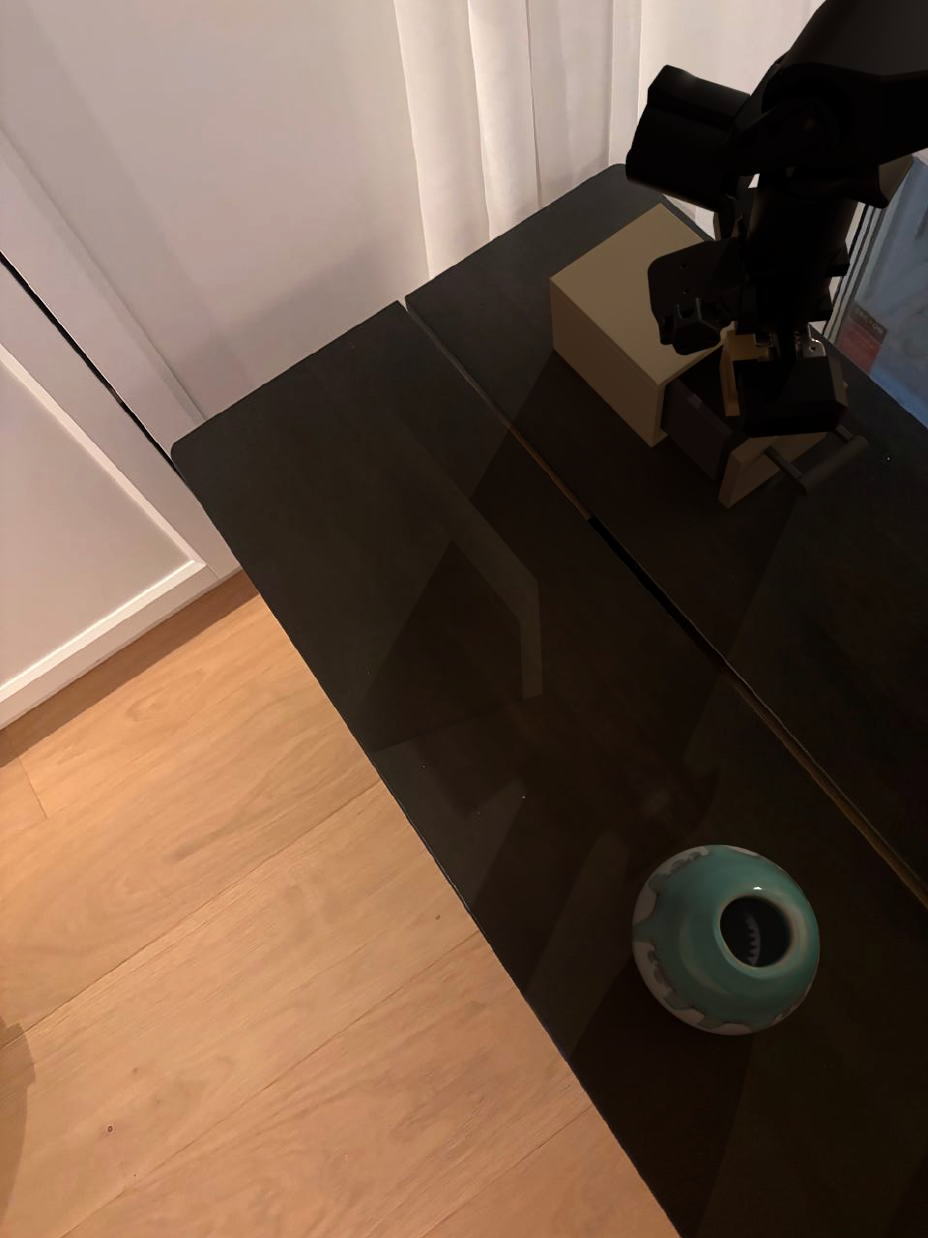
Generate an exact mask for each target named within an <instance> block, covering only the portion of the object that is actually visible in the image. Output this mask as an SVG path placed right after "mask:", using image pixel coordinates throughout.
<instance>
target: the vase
mask: <svg viewBox="0 0 928 1238" xmlns="http://www.w3.org/2000/svg"><path fill="white" fill-rule="evenodd" d="M631 919H632V920H631V929H630V938H631V947H632V949H631V951H632V955H633V959H634V962H635V965H636V968H637V970H638V972H639V974H640V976H641V979H642V980H643V982H644V984H645V986H646V987H647V989H648V990H649V992H650V993H651V994H652V995H653V997H654V998H655V999H656V1001H658V1003H659V1004H660V1005H661V1006H663V1008H664V1009H666V1010H667V1011H668V1012H669V1013H670V1014H672V1016H674V1017H676V1018H677V1019H678V1020H679V1021H682V1022H683V1023H684V1024H687V1025H688V1026H690V1027H693V1028H695V1029H698V1030H700V1031H704V1032H707V1033H710V1034H716V1035H719V1036H720V1035H721V1036H745V1035H749V1034H754V1033H758V1032H761V1031H764V1030H767V1029H769V1028H771V1027H773V1026H776V1025H777V1024H779V1023H781V1022H782V1021H784V1020H785V1019H786V1018H787V1017H789V1016H790V1015H791V1014H792V1013H794V1011H795V1010H797V1008H798V1007H799V1006H800V1005H802V1002H803V1001H804V1000H805V998H806V997H807V996H808V994H809V992H810V990H811V988H812V986H813V983H814V981H815V979H816V976H817V971H818V968H819V962H820V950H821V944H820V943H821V942H820V931H819V930H820V929H819V926H818V921H817V918H816V916H815V913H814V910H813V908H812V905H811V903H810V901H809V899H808V897H807V896H806V894H805V893H804V891H803V889H802V888H801V887H800V886H799V884H798V883H797V882H796V881H795V879H793V878H792V877H791V876H790V874H789V873H788V872H787V871H785V870H784V869H783V868H782V867H780V866H779V865H778V864H776V863H775V862H773V861H772V860H770V859H768V858H766V857H765V856H763V855H761V854H759V853H757V852H755V851H751V850H750V849H746V848H742V847H739V846H732V845H726V844H725V845H724V844H708V845H701V846H695V847H693V848H689V849H686V850H683V851H681V852H679V853H677V854H675V855H673V856H671V857H669V858H668V859H666V860H665V861H664V862H662V863H661V864H660V865H659V866H657V867H656V869H655V870H653V872H652V873H651V874H650V876H648V878H647V879H646V881H645V882H644V884H643V885H642V888H641V889H640V891H639V893H638V895H637V897H636V900H635V903H634V908H633V913H632V918H631Z"/></svg>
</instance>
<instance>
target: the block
mask: <svg viewBox="0 0 928 1238" xmlns="http://www.w3.org/2000/svg"><path fill="white" fill-rule="evenodd" d="M769 336H771V333H770V335H769ZM770 341H772V338H771V339H770ZM768 347H773V344H772V343H771V345H770V346H768ZM766 349H767V347H760V348H759V347H756V346H755V342H754V335H753V334H746V335H735V331H734V330H727V332H726V336H725V341H724V346H723V351H722V355H721V360H720V365H719V372H720V379H721V386H722V394H723V401H724V408H725V416H737V415H740V412H739V405H738V392H737V390H736V384H735V377H734V370H733V363H732V361H735V360H746V359H757V358H758V357H760V356H764V357H765V358H766V356H765V352H766Z"/></svg>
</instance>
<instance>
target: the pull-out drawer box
mask: <svg viewBox="0 0 928 1238" xmlns="http://www.w3.org/2000/svg"><path fill="white" fill-rule="evenodd" d="M723 346H724V344H723V345H721V346H720V347H718V348H717V349H716V350H714V351H713V352H711V353H710V354H709V355H707V356H706V357H704V358H703V359H702V360H700V361H699V362H697V363H696V364H695V365H693V366H692V367H690V368H689V369H687V370H686V371H685V372H683V373H682V374H680V375H679V376H678V377H676V378H675V379H673V380H672V381H671V382H669V383H668V384H666V385H665V392H664V400H663V408H662V416H661V423H660V428H661V429H662V430H663V431H664V432H665V433H666V434H667V435H668V436H667V437H669V438H670V439H671V440H672V441H673V442H674V443H675V444H676V445H677V446H678V447H679V448H680V449H681V450H682V451H683V452H684V453H685V454H686V455H687V457H688V458H690V459H691V460H692V461H693V462H694V463H695V464H696V465H697V466H698V467H699V468H700V469H701V470H702V471H703V472H704V473H705V474H706V475H707V476H708V477H709V478H710V479H711V480H712V481H713V482H714V481H716V480H717V479H719V478H720V477H722V476H723V478H722V482H721V486H720V489H719V493H718V497H717V500H718V501H719V503H721V504H722V505H723V506H724V507H725V508H726V509H729V508H731V507H732V506H734V505H735V504H736V503H738V502H739V501H741V499H743V498H744V497H746V496H747V495H748V494H749V493H751V492H752V491H754V490H756V488H758V487H759V486H761V485H762V484H763V483H765V482H766V481H768V480H769V479H770V478H772V477H773V476H774V475H776V474H777V473H779V472H780V471H781V472H783V474H785V476H787V477H788V478H789V479H790V481H792V482H793V488H794V491H795V492H796V493H797V494H798V495H799V496H801V497H804V498H806V497H808V496H809V495H811V494H812V493H814V492H815V491H816V490H818V489H819V488H820V487H821V486H822V485H824V484H826V483H827V482H828V481H830V480H831V479H832V478H833V477H835V476H836V475H837V474H839V473H840V472H841V471H843V470H844V469H846V468H847V467H848V466H850V465H851V464H852V463H853V462H855V461H856V460H857V459H859V458H860V457H862V456H863V455H864V454H866V453H867V452H868V451H869V450H870V445H869V443H868V440H866V438H864V437H863V436H861V435H855V436H854V435H852V434H851V432H849V431H848V430H847V428H845V427H844V426H843V425H841V424H840V425H839V426H838V427H837V428H836V429H835V430H834V431H833V432H832V434H833V435H835V437H836V438H838V439H839V440H840V441H841V442H842V443H843V445H841V446H839V448H837V449H836V450H835V451H834V452H832V453H831V454H829V455H828V456H827V457H825V458H824V459H823V460H821V461H820V462H819V463H817V464H816V465H814V466H813V467H811V468H810V469H809V470H808V471H806V472H805V473H804V474H802V472H800V471H799V470H798V469H797V468H796V467H795V466H794V465H793V464H792V462H793V461H795V460H796V459H797V458H798V457H800V456H801V455H803V454H804V453H805V452H807V451H808V450H810V449H811V448H812V447H813V446H815V445H817V443H819V442H821V441H822V440H823V439H824V438H825V437H826V435H827V433H828V432H822V433H809V434H797V435H784V436H772V437H759V438H751V437H750V436H748V435H747V434H745V433H744V432H742V426H741V419H740V415H737V416H725V408H724V401H723V394H722V386H721V379H720V372H719V365H720V360H721V355H722V351H723ZM843 382H844V387H845V391H846V390H847V388H848V387H849V384H848V383H846V381H844V380H843Z"/></svg>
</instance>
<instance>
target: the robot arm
mask: <svg viewBox="0 0 928 1238" xmlns="http://www.w3.org/2000/svg"><path fill="white" fill-rule="evenodd" d="M646 92H647V93H646V104H645V106H644V108H643V110H642V113H641V115H640V117H639V120H638V122H637V125H636V128H635V131H634V135H633V137H632V140H631V141H632V142H631V145H630V149H629V150H628V151H627V153H626V156H625V164H624V171H625V172H624V173H625V177H626V180H627V181H628V182H629V183H631V184H634V185H636V186H640V187H642V188H645V189H647V190H650V191H653V192H656V193H659V194H663V195H664V196H667V197H670V198H672V199H675V200H678V201H681V202H684V203H686V204H689V205H692V206H695V207H697V208H700V209H703V210H705V211H709V212H711V213H713V216H712V227H713V235H714V240H709V239H708V240H703V242H700V243H697V244H695V245H692V246H689V247H686V248H683V249H681V250H678V251H675V252H672V253H669V254H666V255H664V256H661V257H659V258H657V259H655V260H654V261H653V262H652V263H651V264H650V266H649V267H648V271H647V276H648V286H649V295H650V305H651V311H652V313H653V315H654V317H655V319H656V321H657V323H658V326H659V335H660V343H661V344H662V345H670V344H672V346H673V348H674V350H675V352H676V353H677V354H679V355H684V356H686V355H689V354H693V353H696V352H699V351H703V350H706V349H709V348H713V347H715V346H717V345H718V344H719V342H720V341H721V334H720V332H721V330H722V329H723V328H725V327H728V326H729V325H730V324H731V322H732V321H734V331H735V335H746V334H753V335H754V342H755V346H756V347H759V348H760V347H767V349H766V352H765V356H766V358H765V357H764V356H760V357H758V358H757V359H746V360H735V361H732V363H733V370H734V377H735V384H736V390H737V392H738V405H739V412H740V419H741V426H742V432H744V433H745V434H747V435H748V436H750V437H751V438H759V437H772V436H784V435H797V434H809V433H822V432H827V433H833V431H834V430H835V429H836V428H837V427H838V426H839V425H841V424H842V422H843V420H844V418H845V415H846V414H847V411H848V409H849V404H848V399H847V393H846V390H845V387H844V382H845V381H844V377H843V373H842V368H841V363H840V362H839V361H838V360H836V359H835V358H833V357H832V356H830V355H829V354H827V355H826V350H825V346H824V344H823V343H822V342H821V341H819V340H817V339H815V338H812V335H811V329H810V323H817V322H818V323H819V322H829V321H831V319H832V317H833V316H832V315H833V313H834V305H833V300H832V295H831V289H830V285H831V283H832V281H833V278H838V277H840V278H841V277H847V275H848V272H849V269H850V267H851V260H850V255H849V251H848V245H847V241H846V240H847V237H848V234H849V231H850V229H851V225H852V223H853V220H854V218H855V213H856V212H857V208H858V206H859V203H861V204H864V205H867V206H870V207H873V208H876V209H878V210H885V209H886V208H887V207H888V206H890V204H891V202H892V200H893V198H894V197H895V195H896V194H897V192H898V190H899V188H900V187H901V185H902V184H903V182H904V180H905V178H906V176H908V173H909V172H910V170H911V168H912V167H913V165H914V163H915V158H914V156H913V154H915V153H918V152H921V151H924V150H926V149H928V0H824V1H823V2H822V3H821V4H820V5H819V6H818V7H817V8H816V9H815V11H814V12H813V14H812V15H811V17H810V18H809V19H808V21H807V22H806V24H805V26H804V27H803V29H802V30H801V32H800V33H799V34H798V36H797V37H796V39H795V40H794V42H793V43H792V45H791V46H790V48H789V49H788V50H786V51H785V52H784V53H783V54H781V55H780V56H779V57H778V58H777V59H776V60H774V61H773V62H772V64H771V65H770V66H769V68H768V69H767V70H766V72H765V74H764V75H763V77H762V78H761V80H759V82H758V84H757V85H756V87H755V88H754V90H753V91H752V93H750V92H749V93H748V92H745V91H743V90H739V89H736V88H734V87H729V86H726V85H723V84H720V83H717V82H714V81H710V80H707V79H705V78H702V77H698V76H696V75H694V74H693V73H691V72H689V71H687V70H686V69H683V68H680V67H677V66H673V65H670V64H665V65H663V66H662V67H661V69H660V70H659V72H658V73H657V75H656V76H655V77H654V79H653V80H652V81H651V82H650V84H649V86H648V87H647V91H646ZM756 175H758V178H757V182H756V183H757V184H756V186H752V187H751V184H752V182H753V180H754V178H755V176H756ZM770 333H771V336H769V335H770ZM771 338H772V341H770V339H771ZM771 343H772V344H773V347H768V346H770V345H771ZM798 346H799V347H798ZM843 381H844V382H843Z"/></svg>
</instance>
